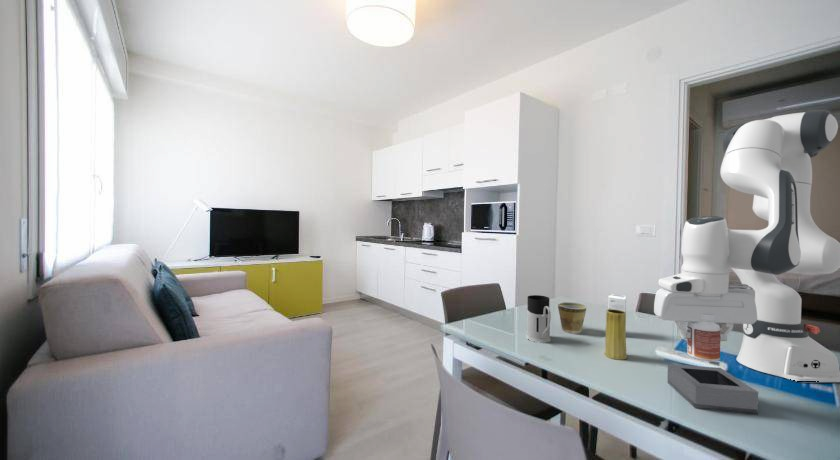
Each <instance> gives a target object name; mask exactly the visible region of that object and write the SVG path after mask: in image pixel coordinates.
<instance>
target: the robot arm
mask: <svg viewBox="0 0 840 460" xmlns="http://www.w3.org/2000/svg"><path fill="white" fill-rule="evenodd" d="M838 129H839V124H838V121H837V119H836V116H835V114H834V113H833V112H831V111H829V110H828V109H812V110H806V111H805V112H803V111H802V112H795V113H788V114H783V115H782V114H781V115H775V116H772V117H769V118H765V119H764V118H763V119H755V120H752V121H748V122H746V123H742V124H740V125H736V126H734V127H732V128H730V129H729V130H728V131H727V132H726V133H725V134H724V137H723V140H722V149H723V153H724V156H723V159H722V162H721V165H720V173H719V174H720V177H721V179H722V181H723V183H725V184H726V185H727V186H728V187H730V188H731V189H733V190H735V191H737V192H740V193H745V194H748V195H753V199H752V211H753V213H754V214H755V216H757V217H758V218H760V219H763V220H764V221H767V222H768V225H767V226H766V227H765V228H762V229H758V230H757V229H731V228H730V227H728V223H727V219H726V218H725V217H724V216H717V215H705V216H703V215H702V216H696V217H692V218H689V219H687V220H686V221H685V222H684V226H683V229H682V234H681V247H680V249H681V252H680V254H681V257H682V264H681V267H680V272H679V273H677V274H674V275H669V276H666V277H661V278H659V279H658V282H657V283H658V286H659V287H660V288H659V289H657V291H656V293H655V297H654V302H653V313H654V315H655V316H656V317H657V318H659V319H660V320H663V321H670V322H671V321H673V322H674V323H675V325H676V326H677V328H678V329H679V336H680V337H681V339H683V340H687V339H691V332H689V331H687V328H685V326H687V322H688V321H692V322H702V319H701V314H704V315H715V317H716V319H715V321H713V322H714V323H717V324H719V323H720V325H721V326H722V327H720V342H727V341H728V335H729V334H730V332H731V331H732V330H733V329H734V324H741V325H742V333H743V337H742V341H741V345H740V350H739V353H738V355H737V356H736V359H735V360H736V361H737V362H738V363H739V364H740V365H743V366H744V367H747V368H749V369H752V370H755V371H758V372H761V373H763V374H764V373H766V374H768V375H773V376H776V377H780V378H785V379H787V380H790V379H791V380H790V381H793V380H795V381H794V382H797V381H816V382H815V383H840V364H839V361H838V358H837V356H836V354H834V352H833V351H831V350H829V349H828V348H826V346H823V345H822V344H821V343H819V342H817V341H816V340H814V339H813V338H812V337H810V335H809V333H812V334H814V335H818V334H819V333H820V332H821V330H820V328H819V327H818V326H816V325H812V324H805V323H803V322H802V302H803V301H802V297H801V295H800V293H798V292H797V291H796V290H795V289H794V288H793V287H791V286H788V285H786V284H785V283H782V282H781V281H780V280H779V279H778V278H777V277H776V276H779V275H782V274H785V273H787V274H788V273H789V274H797V275H826V274H829V275H830V274H833V273H834V272H836V271H838V270H839V269H840V242H839V241H838V240H837V239H835V238H834V237H832V236H830V235H829V234H827V233H825V232H824V231H823V230H822V229H821V228H819V226H817V224H816V222H815V221H814V219H813V217H812V213H811V193H812V185H813V166H812V158H815V157H816V156H817V155H818V154H819V153H820V152H821V151H824V150H825V149H826V148H828V147H829V146H830V145H831V144H832V143H833V142H834V141H835V138H836V135H837V133H838ZM730 269H731V270H732V271H733V272H734V273H735V274H736V276H737V278H738V279H739V281H740V284H739V283H730V278H729V277H730V271H729V270H730ZM808 332H809V333H808ZM817 381H819V382H817Z"/></svg>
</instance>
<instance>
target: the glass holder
mask: <svg viewBox="0 0 840 460" xmlns="http://www.w3.org/2000/svg"><path fill="white" fill-rule="evenodd" d="M551 313H552V312H551V309H550V297H549V296H546V295H540V294H538V295H537V294H535V295H534V294H533V295H531V294H530V295H528V296H527V309H526V335H525V339H526V338H527V339H529V340H532V341H535V342H534V343H537V342H540V343H539V344H546V342H547V343H549V342H551V341H552V338H551V336H550V334H551V331H550V329H551V326H550V325H551V318H552V317H551V316H552V315H551ZM527 339H526V340H527ZM529 340H528V341H529ZM532 341H531V342H532Z"/></svg>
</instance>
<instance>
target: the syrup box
mask: <svg viewBox="0 0 840 460" xmlns="http://www.w3.org/2000/svg"><path fill="white" fill-rule="evenodd" d="M607 301H608V302H607V303H608V306H607V307H608V309H616V310H621V311H624V312H626V313H627V296H626V295H622V294H621V295H619V294H612V293H609V294H608V299H607ZM608 309H607V310H608Z"/></svg>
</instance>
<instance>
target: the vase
mask: <svg viewBox="0 0 840 460" xmlns="http://www.w3.org/2000/svg"><path fill="white" fill-rule="evenodd" d="M605 317H606V318H605V319H606V321H605V339H604V340H605V342H604V343H605V345H604V348H605V349H604V356H606V357H607V358H610V359H611V360H612V359H613V360H618V361H620V360H621V361H624V360H627V358H628V356H627V355H628V354H627V336H626V335H627V334H626V333H627V332H626V330H627V329H626V326H627V321H626V319H627V311H626V312H624V311H621V310H616V309H606V316H605Z"/></svg>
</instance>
